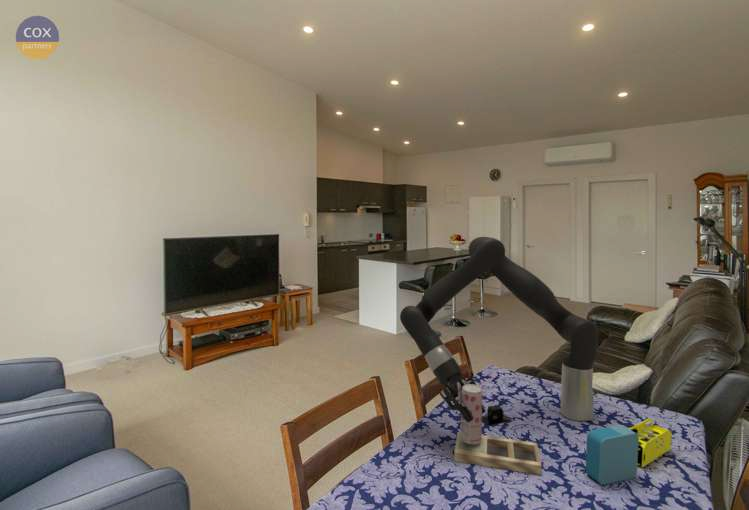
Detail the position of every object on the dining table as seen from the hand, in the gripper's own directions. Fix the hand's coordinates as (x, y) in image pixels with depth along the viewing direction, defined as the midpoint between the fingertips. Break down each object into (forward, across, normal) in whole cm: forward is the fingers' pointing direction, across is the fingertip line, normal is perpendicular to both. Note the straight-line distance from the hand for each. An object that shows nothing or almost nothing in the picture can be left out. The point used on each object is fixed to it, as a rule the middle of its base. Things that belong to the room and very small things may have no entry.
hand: (477, 416), depth 109 cm
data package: (+28, +16, -13) cm, 35 cm away
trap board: (+11, +3, +5) cm, 12 cm away
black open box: (+4, +22, +13) cm, 26 cm away
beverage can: (+4, 0, +6) cm, 8 cm away
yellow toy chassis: (+31, +34, -15) cm, 49 cm away
